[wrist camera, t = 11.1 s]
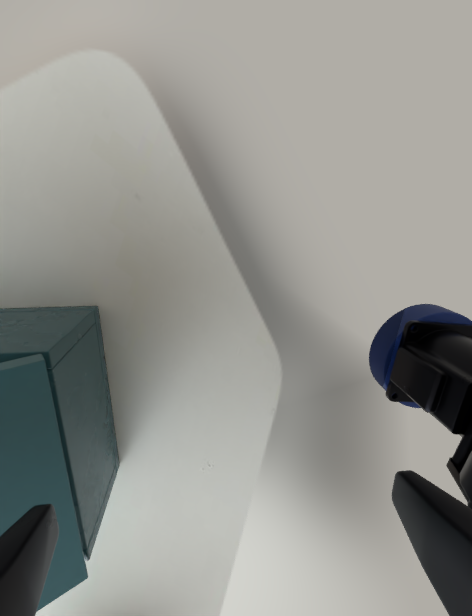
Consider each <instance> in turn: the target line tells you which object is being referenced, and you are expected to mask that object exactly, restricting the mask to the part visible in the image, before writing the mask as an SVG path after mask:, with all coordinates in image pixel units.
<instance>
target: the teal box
mask: <svg viewBox="0 0 472 616" xmlns="http://www.w3.org/2000/svg"><path fill="white" fill-rule="evenodd" d="M36 354H42V355H43V357H44V360H45V363H46V368H47V373H48V378H49V383H50V388H51V393H52V398H53V403H54V408H55V413H56V418H57V423H58V428H59V433H60V438H61V443H62V448H63V453H64V458H65V463H66V468H67V473H68V478H69V484H70V489H71V494H72V499H73V504H74V509H75V514H76V519H77V524H78V529H79V534H80V539H81V544H82V549H83V554H84V559H85V561H88V560H89V559H90V556H91V553H92V549H93V546H94V543H95V540H96V537H97V534H98V531H99V528H100V524H101V521H102V518H103V515H104V512H105V509H106V506H107V503H108V499H109V496H110V493H111V490H112V487H113V484H114V481H115V478H116V473H117V471H118V468H119V458H118V451H117V443H116V436H115V428H114V421H113V414H112V406H111V399H110V392H109V384H108V377H107V370H106V362H105V355H104V348H103V340H102V333H101V326H100V318H99V311H98V306H79V307H45V308H10V309H0V363H2V362H6V361H11V360H15V359H19V358H23V357H28V356H32V355H36Z"/></svg>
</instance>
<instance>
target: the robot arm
mask: <svg viewBox="0 0 472 616" xmlns="http://www.w3.org/2000/svg"><path fill="white" fill-rule="evenodd" d="M412 326H414V328H413V329H412V330H411V328H412ZM394 393H395V394H394ZM392 394H394V395H393V396H392ZM386 396H387V398H388V399H389V400H390V401H394V402H415V403H417V404H418V405H419V406H420V407H421V408H422V409H423V410H424V411H426V412H427V413H428V412H429V413H430V414H431V415H432V416H434V417H435V418H436V419H437V420H438V421H439V422H441V423H442V424H443V425H444V426H445V427H446V428H447V429H448V430H449V431H451V432H452V433H453V434H459V435H460V436H462V440H461V441H460V443H459V446H458V447H457V449H456V452H455V454H454V455H453V457H452V458H450V459H449V461H448V463H447V467H448V469H449V471H450V473H451V474H452V476H453V477H454V479H455V481H456V483H457V485H458V486H459V488H460V490H461V491H462V493H463V495H464V497H465V498H466V500H467V502H468V506H466V505H465V504H463V503H462V502H460V501H459V500H456V498H454V497H452V496H451V495H449V494H448V493H446V492H445V491H443V490H442V489H440V488H438V487H437V486H435V485H434V484H432V483H431V482H429V481H427V480H426V479H425V478H423V477H421V476H420V475H418V474H417V473H415V472H413V471H399V472H397V473H396V475H395V480H394V485H393V490H392V501H393V504H394V506H395V508H396V510H397V513H398V515H399V517H400V519H401V521H402V524H403V526H404V528H405V530H406V532H407V535H408V537H409V539H410V541H411V543H412V546H413V548H414V550H415V552H416V554H417V556H418V559H419V560H420V562H421V565H422V567H423V569H424V570H425V572H426V574H427V576H428V578H429V580H430V582H431V583H432V585H433V587H434V589H435V590H436V592H437V594H438V596H439V598H440V600H441V601H442V603H443V605H444V606H445V608H446V610H447V612H448V614H449V616H472V325H470V324H457V323H443V322H430V321H417V320H410V321H408V322H407V323H406V324H405V326H404V330H403V333H402V337H401V340H400V344H399V347H398V351H397V354H396V358H395V361H394V365H393V368H392V372H391V376H390V380H389V383H388V387H387V390H386ZM58 535H59V526H58V521H57V517H56V513H55V508H54V506H53V505H52V504H41V505H35V506H33V507H32V508H31V509H29V510H28V511H27V512H26V513H25V514H24V515H23V516H22V517H21V518H20V519H18V520H17V521H16V522H15V523H14V524H13V525H12V526H11V527H10V528H9V529H8V530H6V531H5V532H4V533H3V534H2V535H1V536H0V616H35V614H36V611H37V608H38V604H39V601H40V598H41V594H42V591H43V588H44V584H45V581H46V577H47V574H48V571H49V567H50V564H51V560H52V557H53V554H54V550H55V547H56V543H57V540H58Z"/></svg>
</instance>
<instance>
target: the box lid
mask: <svg viewBox="0 0 472 616" xmlns="http://www.w3.org/2000/svg"><path fill="white" fill-rule="evenodd" d="M41 504H52V505H53V506H54V508H55V513H56V517H57V521H58V526H59V535H58V540H57V543H56V547H55V550H54V554H53V557H52V560H51V564H50V567H49V571H48V574H47V577H46V581H45V584H44V588H43V591H42V594H41V598H40V601H39V604H38V608H37V611H38V610H40V609H41V608H43V607H44V606H46V605H47V604H49V603H50V602H52V601H53V600H55V599H57V598H58V597H60V596H61V595H63V594H64V593H66V592H67V591H69V590H70V589H72V588H73V587H75V586H76V585H78V584H79V583H81V582H82V581H84V580H85V579H87V578H88V574H87V569H86V564H85V559H84V554H83V549H82V544H81V539H80V534H79V529H78V524H77V519H76V514H75V509H74V504H73V499H72V494H71V489H70V484H69V478H68V473H67V468H66V463H65V458H64V453H63V448H62V443H61V438H60V433H59V428H58V423H57V418H56V413H55V408H54V403H53V398H52V393H51V388H50V383H49V378H48V373H47V368H46V363H45V360H44V357H43V355H42V354H36V355H32V356H28V357H23V358H19V359H15V360H11V361H6V362H2V363H0V536H1V535H2V534H3V533H4V532H5V531H6V530H8V529H9V528H10V527H11V526H12V525H13V524H14V523H15V522H16V521H17V520H18V519H20V518H21V517H22V516H23V515H24V514H25V513H26V512H27V511H28V510H29V509H31V508H32V507H33V506H35V505H41ZM37 611H36V612H37Z"/></svg>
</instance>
